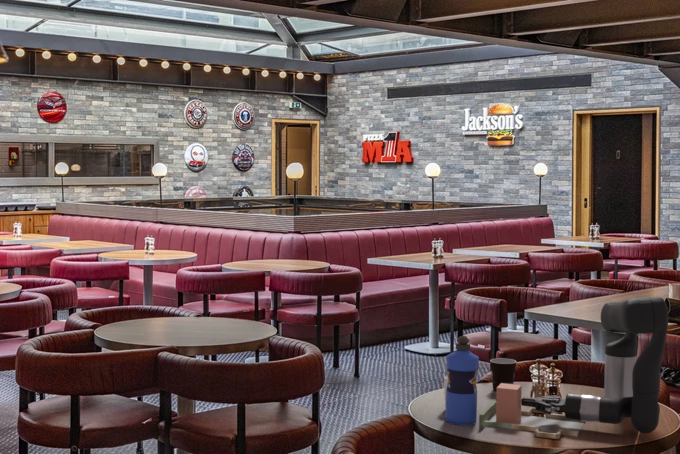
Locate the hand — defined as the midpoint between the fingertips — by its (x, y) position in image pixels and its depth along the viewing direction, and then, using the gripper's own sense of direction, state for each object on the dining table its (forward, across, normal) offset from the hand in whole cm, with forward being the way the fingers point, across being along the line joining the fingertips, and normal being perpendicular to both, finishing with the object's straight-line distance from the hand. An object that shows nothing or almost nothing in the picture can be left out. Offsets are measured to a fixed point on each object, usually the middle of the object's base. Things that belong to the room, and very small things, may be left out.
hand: (521, 401), depth 254 cm
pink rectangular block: (+4, 0, +6) cm, 7 cm away
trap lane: (-4, 0, +7) cm, 8 cm away
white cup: (+22, -8, +7) cm, 24 cm away
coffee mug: (+14, -39, +7) cm, 42 cm away
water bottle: (+17, +3, +7) cm, 19 cm away
